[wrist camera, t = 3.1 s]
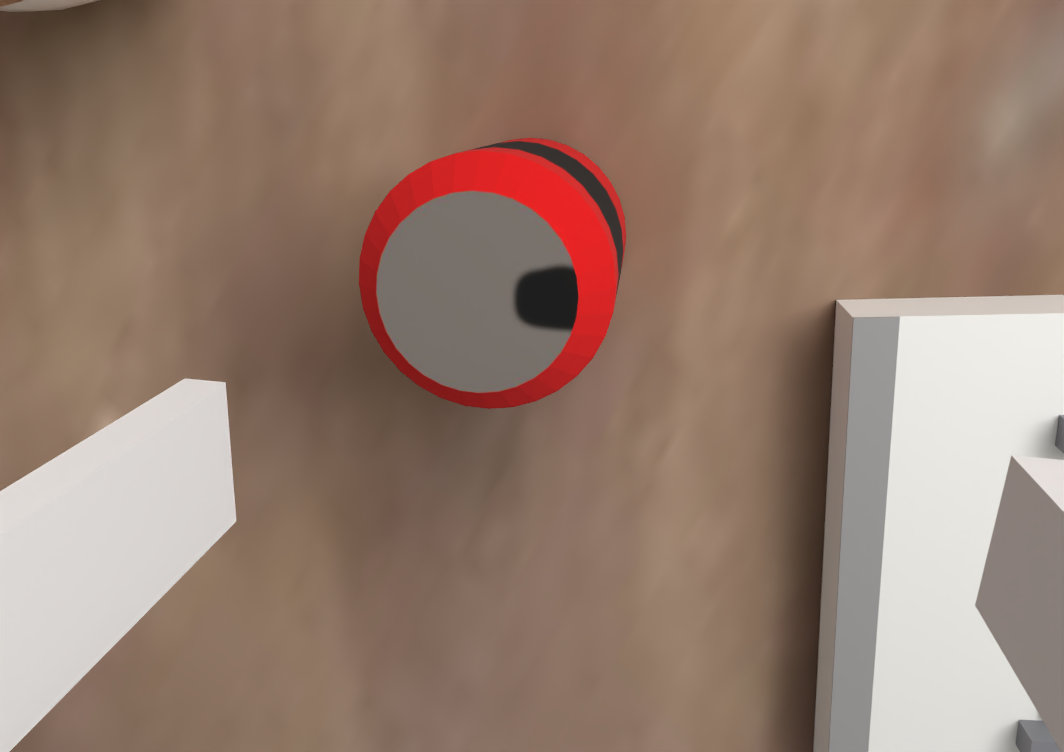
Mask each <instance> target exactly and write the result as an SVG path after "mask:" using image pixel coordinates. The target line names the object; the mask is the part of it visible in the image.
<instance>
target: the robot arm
mask: <svg viewBox="0 0 1064 752" xmlns="http://www.w3.org/2000/svg"><path fill="white" fill-rule="evenodd" d="M235 522H236V511H235V498H234V485H233V472H232V460H231V447H230V434H229V421H228V409H227V396H226V383H225V382H216V381H205V380H194V379H183V380H182V381H180V382H178V383H177V384H175V385H174V386H172V387H170V388H169V389H167V390H165V391H164V392H162V393H160V394H159V395H157V396H156V397H154V398H152V399H151V400H149V401H147V402H146V403H144V404H142V405H141V406H139V407H138V408H136V409H134V410H133V411H131V412H129V413H128V414H126V415H124V416H123V417H121V418H120V419H118V420H116V421H115V422H113V423H111V424H110V425H108V426H106V427H105V428H103V429H102V430H100V431H98V432H97V433H95V434H93V435H92V436H90V437H88V438H87V439H85V440H84V441H82V442H80V443H79V444H77V445H75V446H74V447H72V448H70V449H69V450H67V451H66V452H64V453H62V454H61V455H59V456H57V457H56V458H54V459H52V460H51V461H49V462H48V463H46V464H44V465H43V466H41V467H39V468H38V469H36V470H34V471H33V472H31V473H30V474H28V475H26V476H25V477H23V478H21V479H20V480H18V481H16V482H15V483H13V484H12V485H10V486H8V487H7V488H5V489H3V490H2V491H0V752H10V751H11V750H12V749H13V748H14V747H15V746H16V745H17V744H18V742H19V741H20V740H21V739H22V738H23V737H24V736H25V735H26V734H27V733H28V732H29V731H30V730H31V729H32V728H33V727H34V726H35V725H36V724H37V723H38V722H39V721H40V720H41V719H42V718H43V717H44V716H45V715H46V714H47V713H48V712H49V711H50V710H51V709H52V708H53V707H54V706H55V705H56V704H57V703H58V702H59V701H60V700H61V699H62V698H63V697H64V696H65V695H66V694H67V693H68V692H69V691H70V690H71V689H72V688H73V687H74V686H75V685H76V684H77V683H78V682H79V681H80V680H81V679H82V678H83V676H84V675H85V674H86V673H87V672H88V671H89V670H90V669H91V668H92V667H93V666H94V665H95V664H96V663H97V662H98V661H99V660H100V659H101V658H102V657H103V656H104V655H105V654H106V653H107V652H108V651H109V650H110V649H111V648H112V647H113V646H114V645H115V644H116V643H117V642H118V641H119V640H120V639H121V638H122V637H123V636H124V635H125V634H126V633H127V632H128V631H129V630H130V629H131V628H132V627H133V626H134V625H135V624H136V623H137V622H138V621H139V620H140V619H141V618H142V617H143V616H144V615H145V614H146V613H147V611H148V610H149V609H150V608H151V607H152V606H153V605H154V604H155V603H156V602H157V601H158V600H159V599H160V598H161V597H162V596H163V595H164V594H165V593H166V592H167V591H168V590H169V589H170V588H171V587H172V586H173V585H174V584H175V583H176V582H177V581H178V580H179V579H180V578H181V577H182V576H183V575H184V574H185V573H186V572H187V571H188V570H189V569H190V568H191V567H192V566H193V565H194V564H195V563H196V562H197V561H198V560H199V559H200V558H201V557H202V556H203V555H204V554H205V553H206V552H207V551H208V550H209V549H210V548H211V547H212V545H213V544H214V543H215V542H216V541H217V540H218V539H219V538H220V537H221V536H222V535H223V534H224V533H225V532H226V531H227V530H228V529H229V528H230V527H231V526H232V525H233V524H234V523H235ZM975 606H976V608H977V610H978V611H979V613H980V615H981V616H982V618H983V620H984V622H985V623H986V625H987V627H988V628H989V630H990V632H991V633H992V635H993V637H994V638H995V640H996V642H997V644H998V645H999V647H1000V649H1001V650H1002V652H1003V654H1004V655H1005V657H1006V659H1007V661H1008V662H1009V664H1010V666H1011V667H1012V669H1013V671H1014V672H1015V674H1016V676H1017V678H1018V679H1019V681H1020V683H1021V684H1022V686H1023V688H1024V689H1025V691H1026V693H1027V694H1028V696H1029V698H1030V700H1031V701H1032V703H1033V705H1034V706H1035V708H1036V710H1037V711H1038V713H1039V715H1040V717H1041V718H1042V720H1043V722H1044V723H1045V725H1046V727H1047V728H1048V730H1049V732H1050V733H1051V735H1052V737H1053V739H1054V740H1055V742H1056V744H1057V745H1058V747H1059V749H1060V750H1061V752H1064V460H1057V459H1046V458H1035V457H1025V456H1014V455H1011V459H1010V463H1009V467H1008V471H1007V475H1006V480H1005V484H1004V488H1003V492H1002V496H1001V500H1000V504H999V508H998V513H997V517H996V521H995V525H994V529H993V533H992V537H991V541H990V546H989V550H988V554H987V558H986V562H985V566H984V570H983V574H982V579H981V583H980V587H979V591H978V595H977V599H976V603H975Z"/></svg>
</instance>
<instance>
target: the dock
mask: <svg viewBox="0 0 1064 752" xmlns="http://www.w3.org/2000/svg"><path fill="white" fill-rule="evenodd" d="M1011 455H1014V456H1025V457H1035V458H1046V459H1057V460H1064V295H1032V296H988V297H944V298H900V299H856V300H836V316H835V336H834V356H833V375H832V395H831V415H830V434H829V454H828V474H827V493H826V513H825V533H824V552H823V572H822V591H821V611H820V631H819V650H818V670H817V690H816V709H815V729H814V749H813V752H1061V750H1060V749H1059V747H1058V745H1057V744H1056V742H1055V740H1054V739H1053V737H1052V735H1051V733H1050V732H1049V730H1048V728H1047V727H1046V725H1045V723H1044V722H1043V720H1042V718H1041V717H1040V715H1039V713H1038V711H1037V710H1036V708H1035V706H1034V705H1033V703H1032V701H1031V700H1030V698H1029V696H1028V694H1027V693H1026V691H1025V689H1024V688H1023V686H1022V684H1021V683H1020V681H1019V679H1018V678H1017V676H1016V674H1015V672H1014V671H1013V669H1012V667H1011V666H1010V664H1009V662H1008V661H1007V659H1006V657H1005V655H1004V654H1003V652H1002V650H1001V649H1000V647H999V645H998V644H997V642H996V640H995V638H994V637H993V635H992V633H991V632H990V630H989V628H988V627H987V625H986V623H985V622H984V620H983V618H982V616H981V615H980V613H979V611H978V610H977V608H976V606H975V603H976V599H977V595H978V591H979V587H980V583H981V579H982V574H983V570H984V566H985V562H986V558H987V554H988V550H989V546H990V541H991V537H992V533H993V529H994V525H995V521H996V517H997V513H998V508H999V504H1000V500H1001V496H1002V492H1003V488H1004V484H1005V480H1006V475H1007V471H1008V467H1009V463H1010V459H1011Z"/></svg>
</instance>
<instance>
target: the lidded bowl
mask: <svg viewBox="0 0 1064 752" xmlns="http://www.w3.org/2000/svg"><path fill="white" fill-rule="evenodd" d="M95 1H99V0H0V11H10V12H26V11H44V10H62V9H66V8H70V7H75V6H79V5H83V4H87V3H91V2H95Z"/></svg>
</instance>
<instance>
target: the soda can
mask: <svg viewBox="0 0 1064 752" xmlns="http://www.w3.org/2000/svg"><path fill="white" fill-rule="evenodd" d="M625 241H626V229H625V217H624V214H623V210H622V207H621V203H620V199H619V197H618V195H617V193H616V192H615V190H614V188H613V186H612V184H611V182H610V181H609V179H608V178H607V177H606V176H605V174H604V173H603V172H602V170H601V169H600V168H599V167H598V166H597V165H596V164H595V163H593V162H592V161H591V160H590V159H589V158H587V157H586V156H585V155H584V154H582V153H580V152H578V151H577V150H575V149H573V148H571V147H569V146H567V145H564V144H561V143H558V142H555V141H551V140H546V139H536V138H525V139H516V140H509V141H505V142H501V143H497V144H493V145H489V146H485V147H480V148H476V149H472V150H468V151H464V152H460V153H455V154H452V155H449V156H446V157H443V158H440V159H437V160H434V161H431V162H429V163H427V164H426V165H424V166H422V167H421V168H419V169H417V170H415V171H414V172H412V173H410V174H409V175H407V176H406V177H405V178H404V179H403V180H402V181H401V182H400V183H399V184H398V185H396V186H395V187H394V188H393V189H392V190H391V191H390V192H389V193H388V195H387V196H386V198H385V199H384V200H383V202H382V203H381V205H380V206H379V207H378V209H377V210H376V211H375V213H374V216H373V218H372V220H371V222H370V225H369V227H368V229H367V231H366V234H365V237H364V242H363V246H362V251H361V255H360V265H359V286H360V292H361V298H362V304H363V309H364V312H365V314H366V317H367V320H368V323H369V325H370V328H371V331H372V333H373V334H374V336H375V338H376V339H377V341H378V343H379V344H380V346H381V348H382V349H383V351H384V353H385V354H386V355H387V356H388V357H389V358H390V360H391V361H392V362H393V363H394V364H395V365H396V366H397V368H398V369H399V370H400V371H401V372H402V373H403V374H405V375H406V376H407V377H409V378H410V379H411V380H412V381H414V382H415V383H416V384H417V385H419V386H420V387H422V388H423V389H425V390H427V391H429V392H431V393H433V394H435V395H437V396H438V397H440V398H443V399H446V400H449V401H452V402H455V403H458V404H461V405H464V406H472V407H480V408H488V409H490V408H506V407H515V406H519V405H523V404H527V403H530V402H534V401H537V400H539V399H541V398H543V397H545V396H547V395H550V394H552V393H554V392H556V391H558V390H559V389H560V388H562V387H563V386H564V385H566V384H567V383H568V382H570V381H571V380H572V379H574V378H575V377H576V376H577V375H578V374H579V373H580V372H581V371H582V370H583V369H584V367H585V366H586V365H587V364H588V363H589V362H590V361H591V359H592V358H593V357H594V355H595V353H596V352H597V350H598V348H599V346H600V345H601V343H602V341H603V339H604V338H605V336H606V333H607V330H608V327H609V324H610V320H611V317H612V314H613V310H614V305H615V300H616V294H617V289H618V284H619V278H620V273H621V268H622V262H623V257H624V250H625Z"/></svg>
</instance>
